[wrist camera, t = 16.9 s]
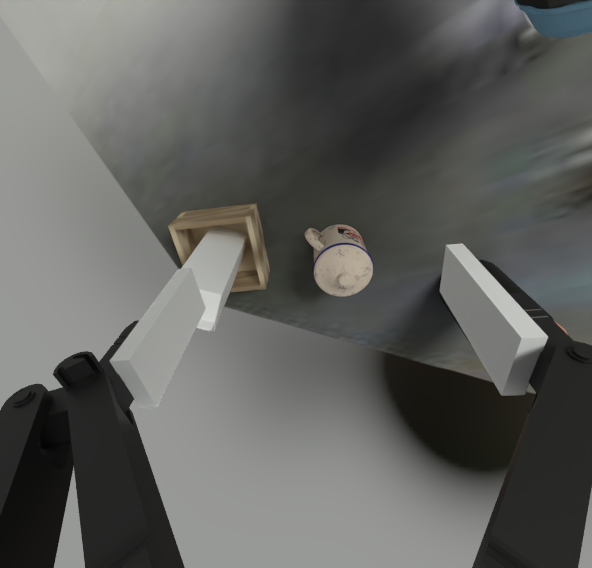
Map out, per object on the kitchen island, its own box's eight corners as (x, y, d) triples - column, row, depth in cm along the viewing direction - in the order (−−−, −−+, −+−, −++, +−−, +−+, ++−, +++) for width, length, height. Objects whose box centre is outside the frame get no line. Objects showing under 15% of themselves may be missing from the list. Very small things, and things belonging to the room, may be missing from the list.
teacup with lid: (375, 244, 54) (391, 279, 44) (338, 278, 57) (344, 317, 47) (325, 199, 50) (329, 225, 40) (288, 238, 54) (284, 271, 44)
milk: (241, 263, 55) (208, 350, 37) (207, 253, 55) (156, 338, 36) (248, 232, 52) (215, 311, 34) (212, 222, 52) (159, 297, 33)
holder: (182, 211, 52) (167, 225, 46) (256, 202, 50) (250, 216, 45) (204, 276, 58) (193, 295, 53) (270, 270, 57) (266, 288, 51)
